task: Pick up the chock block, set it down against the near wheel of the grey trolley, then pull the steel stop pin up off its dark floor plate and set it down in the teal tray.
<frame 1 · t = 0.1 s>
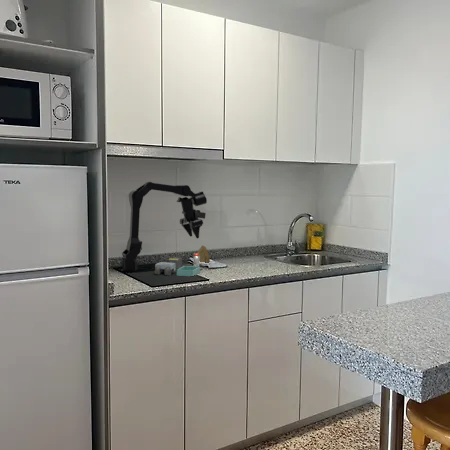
hand: (194, 237, 238), 15 cm above the countertop, tool pointing down, fingers open, 9 cm apart
chock: (175, 268, 234), on the countertop
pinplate: (196, 270, 229), on the countertop
rock: (201, 264, 247), on the countertop
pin: (196, 269, 229), resting on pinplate
tray: (188, 274, 217), on the countertop
trolley: (165, 274, 218), on the countertop
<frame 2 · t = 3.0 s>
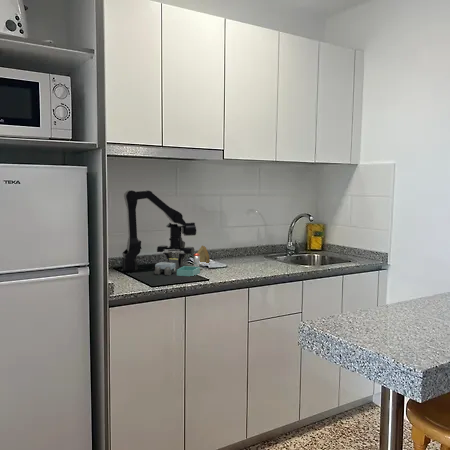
hand: (175, 266, 233), 1 cm above the countertop, tool pointing down, fingers closed on chock, 4 cm apart
chock: (175, 267, 234), on the countertop, touching gripper
everything else where it was.
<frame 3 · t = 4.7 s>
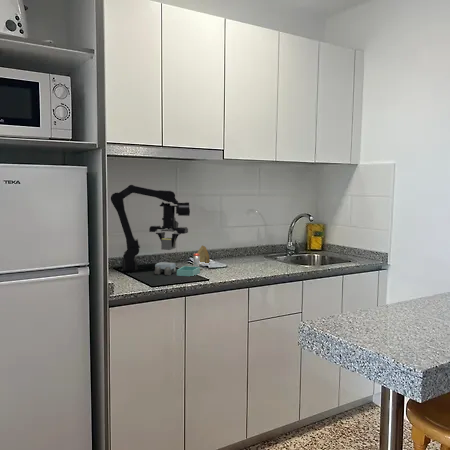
hand: (168, 246, 227), 12 cm above the countertop, tool pointing down, fingers closed on chock, 4 cm apart
chock: (168, 248, 227), point 11 cm above the countertop, touching gripper
everything else where it was.
when the fingers open (2 cm above the countertop, at t = 6.9 s): chock drops 1 cm, on the countertop.
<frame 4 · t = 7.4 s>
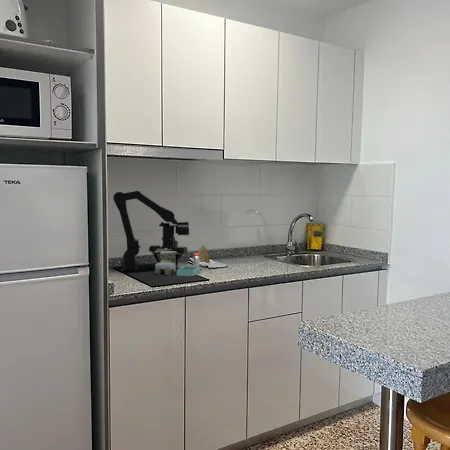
hand: (168, 266, 228), 2 cm above the countertop, tool pointing down, fingers open, 9 cm apart
chock: (168, 270, 228), on the countertop
everything else where it was.
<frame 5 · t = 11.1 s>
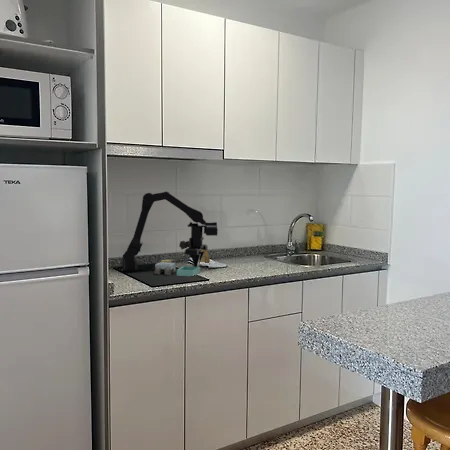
hand: (196, 266, 228), 2 cm above the countertop, tool pointing down, fingers closed on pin, 3 cm apart
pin: (196, 269, 229), resting on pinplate, touching gripper
everything else where it was.
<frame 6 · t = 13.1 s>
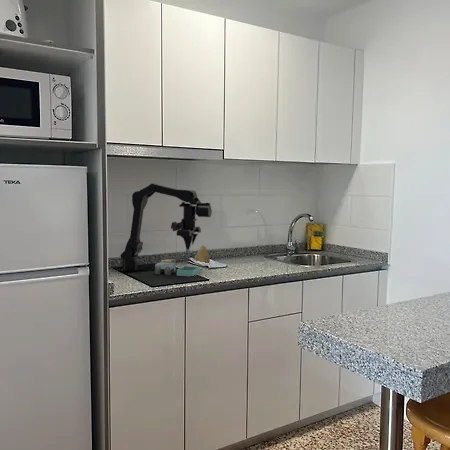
hand: (188, 249, 216), 12 cm above the countertop, tool pointing down, fingers closed on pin, 3 cm apart
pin: (189, 252, 216), point 11 cm above the countertop, touching gripper
everything else where it was.
when the fingers open (3 cm above the countertop, at t = 15.0 s): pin drops 1 cm, resting on tray.
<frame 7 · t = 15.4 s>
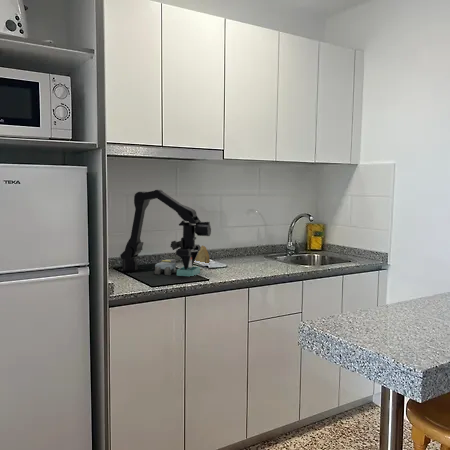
hand: (188, 267, 217), 3 cm above the countertop, tool pointing down, fingers open, 7 cm apart
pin: (188, 273, 217), point 1 cm above the countertop, touching tray
everything else where it was.
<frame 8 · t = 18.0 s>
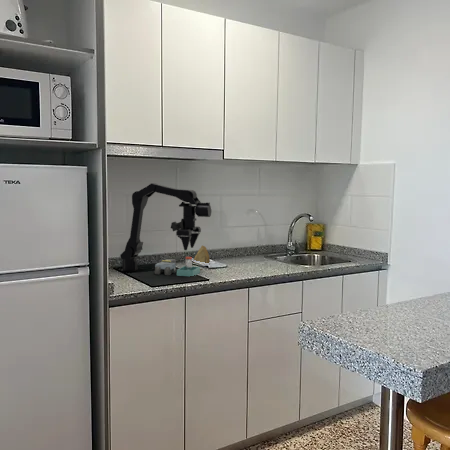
hand: (188, 248, 216), 13 cm above the countertop, tool pointing down, fingers open, 9 cm apart
nothing on the countertop moved.
at the end: chock inside the target area (0.8 cm from its centre), on the countertop; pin inside the target area on the tray (0.0 cm from its centre), point 0.6 cm above the tray's base; the gripper is holding nothing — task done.
